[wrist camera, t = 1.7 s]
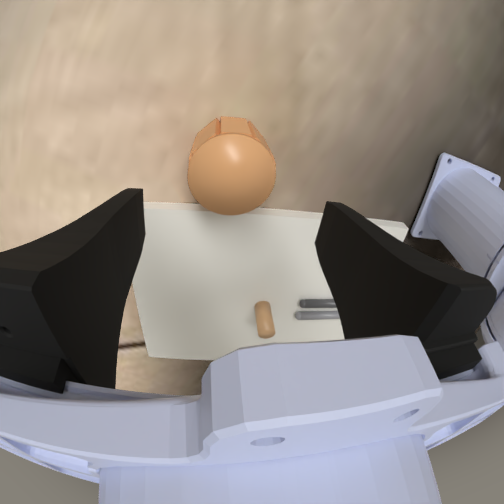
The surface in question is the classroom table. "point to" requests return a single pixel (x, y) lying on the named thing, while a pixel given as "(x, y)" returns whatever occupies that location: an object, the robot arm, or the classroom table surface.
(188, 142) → the classroom table surface
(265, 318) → the plate
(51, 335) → the robot arm
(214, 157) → the wire nut
